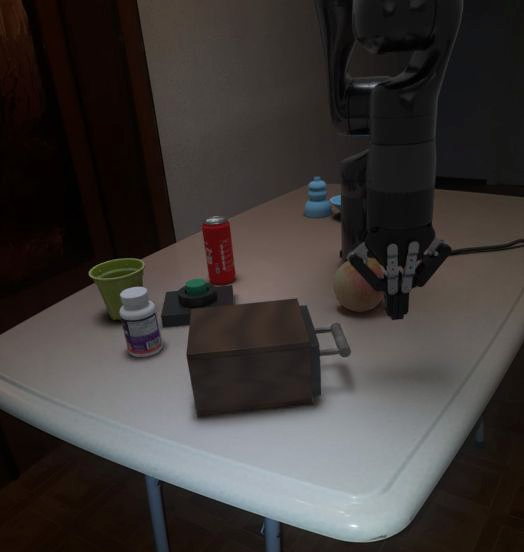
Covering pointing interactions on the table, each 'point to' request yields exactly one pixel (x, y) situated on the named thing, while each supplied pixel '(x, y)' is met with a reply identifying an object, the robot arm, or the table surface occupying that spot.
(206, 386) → the cabinet
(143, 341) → the pill bottle
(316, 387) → the drawer
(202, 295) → the control block
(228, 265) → the beverage can
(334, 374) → the table surface
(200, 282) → the button
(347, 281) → the apple
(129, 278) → the plant pot
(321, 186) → the blue tiered piece
